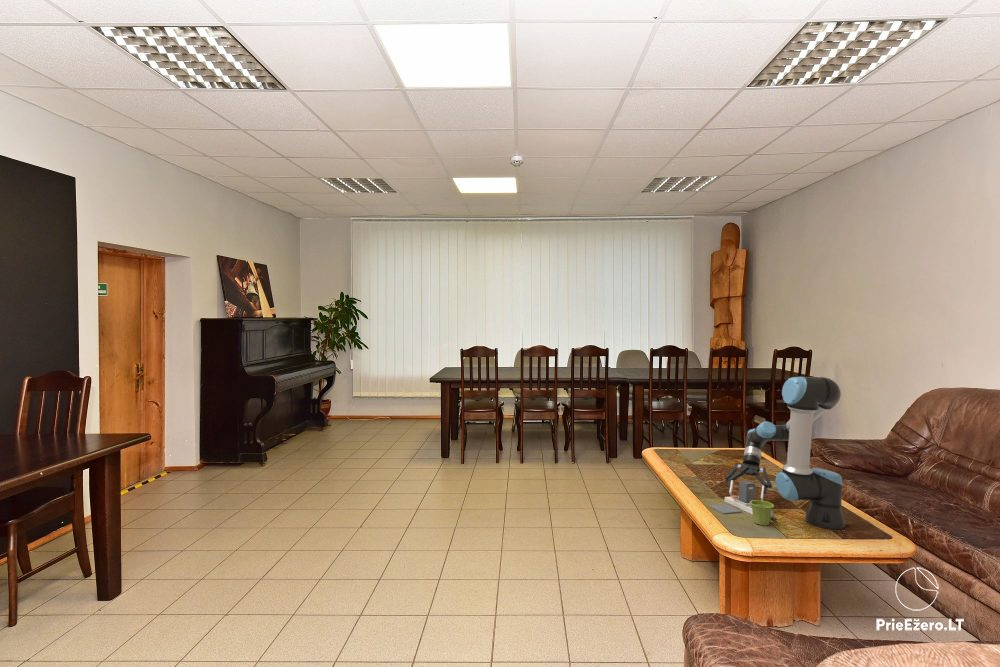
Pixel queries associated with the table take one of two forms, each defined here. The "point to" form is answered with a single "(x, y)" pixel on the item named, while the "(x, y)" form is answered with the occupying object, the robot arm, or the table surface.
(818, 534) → the table surface
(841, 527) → the robot arm
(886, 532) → the table surface
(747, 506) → the white slab
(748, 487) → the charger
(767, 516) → the plant pot
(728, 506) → the pad
